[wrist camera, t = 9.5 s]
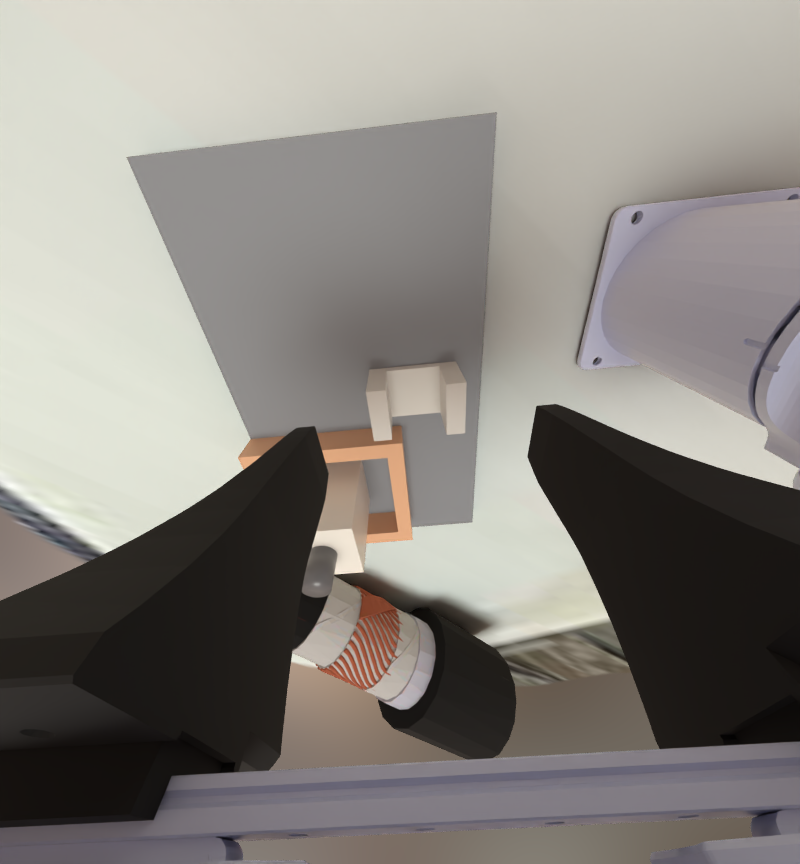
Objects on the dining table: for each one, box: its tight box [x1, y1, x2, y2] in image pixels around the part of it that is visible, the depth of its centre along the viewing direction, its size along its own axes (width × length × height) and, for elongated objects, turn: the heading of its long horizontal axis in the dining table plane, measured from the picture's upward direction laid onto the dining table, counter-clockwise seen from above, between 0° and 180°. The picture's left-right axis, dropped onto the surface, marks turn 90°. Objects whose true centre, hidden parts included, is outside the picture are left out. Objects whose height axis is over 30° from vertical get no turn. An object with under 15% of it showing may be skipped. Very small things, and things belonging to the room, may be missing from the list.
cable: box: [292, 576, 516, 760], centre depth 28 cm, size 10×34×10 cm, turn 46°
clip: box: [366, 361, 467, 441], centre depth 17 cm, size 5×3×3 cm, turn 95°
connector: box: [302, 460, 370, 598], centre depth 19 cm, size 4×4×8 cm
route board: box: [127, 112, 497, 527], centre depth 19 cm, size 15×24×1 cm, turn 5°
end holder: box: [238, 426, 413, 543], centre depth 21 cm, size 10×9×2 cm
